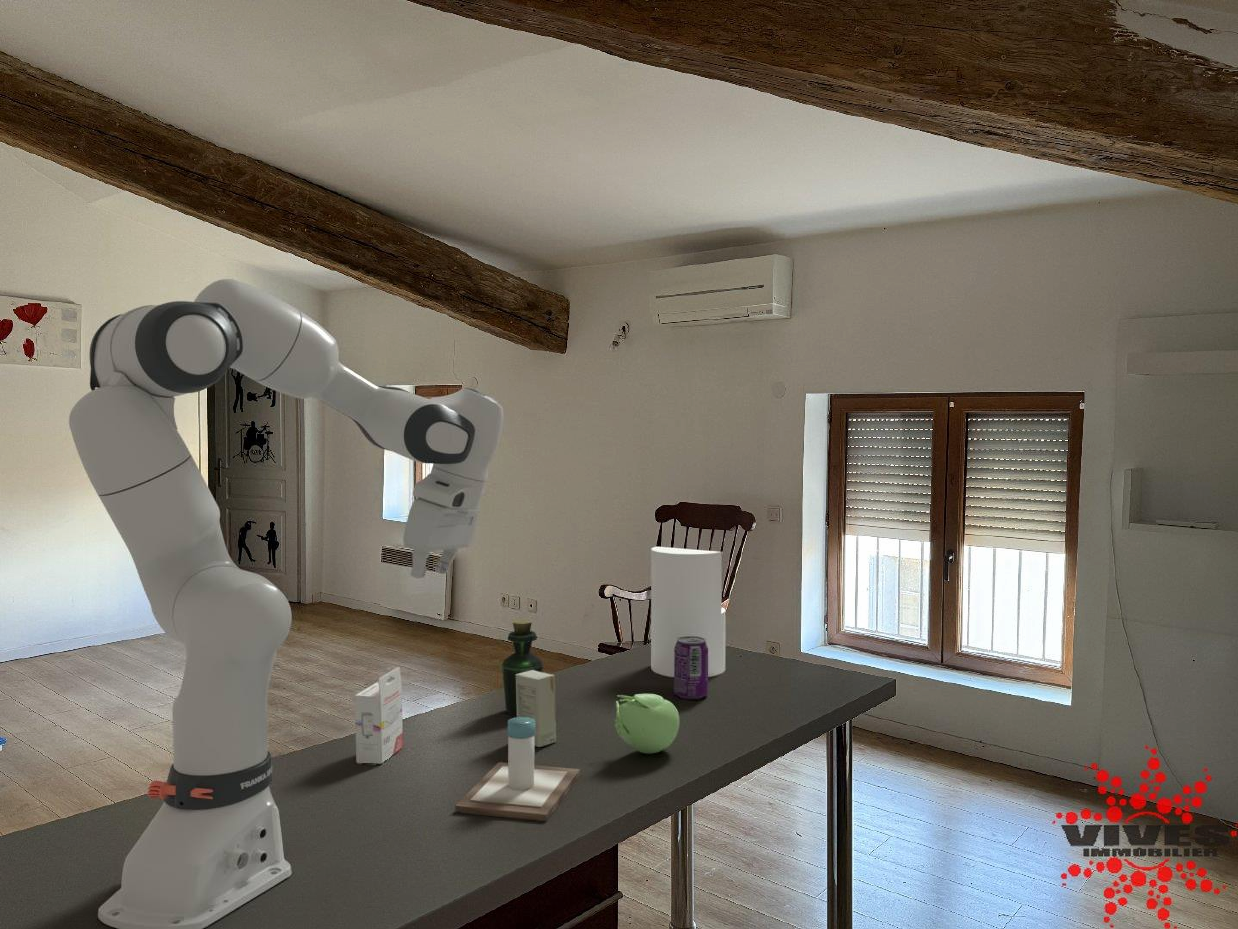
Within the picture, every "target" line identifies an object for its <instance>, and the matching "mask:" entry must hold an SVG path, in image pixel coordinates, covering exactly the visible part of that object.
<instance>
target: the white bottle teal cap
mask: <svg viewBox="0 0 1238 929" xmlns="http://www.w3.org/2000/svg"><path fill="white" fill-rule="evenodd" d="M534 735H535V720H534V719H533V718H529V717H517V716H515V717H513V718H510V719H508V721H507V736H508V738H507V742H508V744H507V746H508V747H507V748H508V749H507V751H508V752H507V753H508V754H507V755H508V756H507V760H508V761H507V763H508V787H509V788H511V789H514V790H527V789H530V788H532V787H533V786H534V765H535V746H534Z"/></svg>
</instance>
